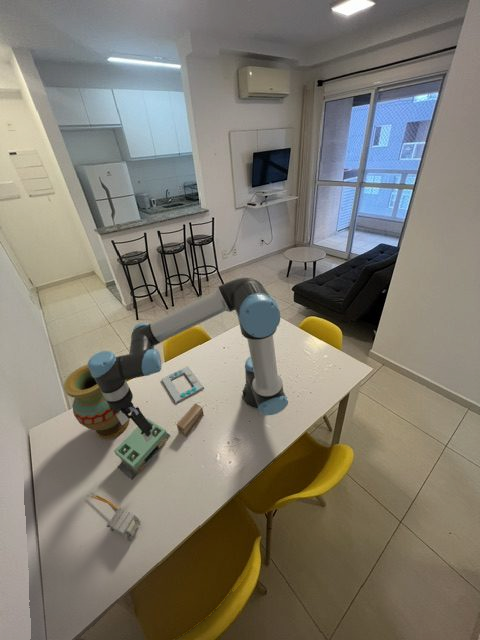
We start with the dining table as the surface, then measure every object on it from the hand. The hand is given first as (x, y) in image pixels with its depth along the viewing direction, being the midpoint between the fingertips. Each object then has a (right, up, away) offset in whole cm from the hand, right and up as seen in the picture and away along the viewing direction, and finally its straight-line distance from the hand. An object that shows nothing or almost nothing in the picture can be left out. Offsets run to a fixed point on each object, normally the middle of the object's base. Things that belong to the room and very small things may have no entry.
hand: (136, 430), depth 95 cm
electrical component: (-5, -25, -9) cm, 27 cm away
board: (0, -7, +5) cm, 9 cm away
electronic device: (+9, +7, +37) cm, 39 cm away
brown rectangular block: (+17, -5, +18) cm, 25 cm away
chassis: (0, -12, +8) cm, 15 cm away
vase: (-18, -6, +19) cm, 27 cm away
